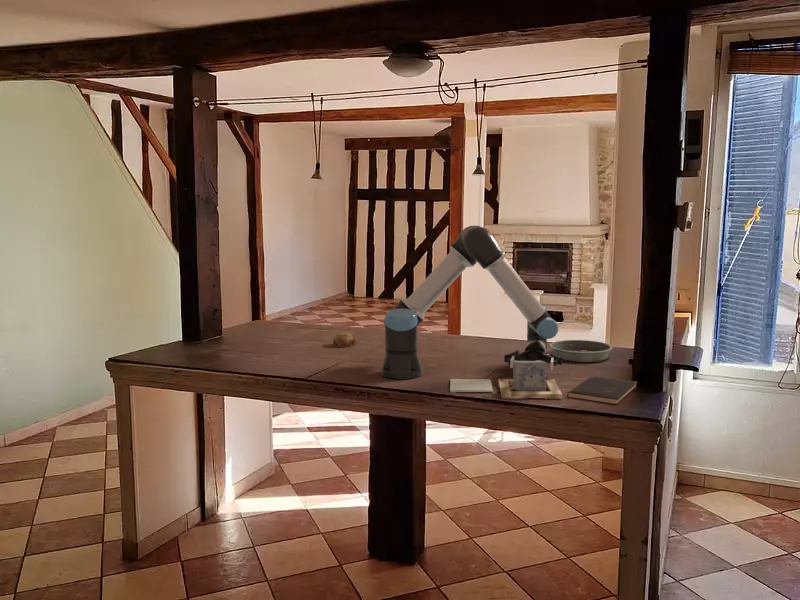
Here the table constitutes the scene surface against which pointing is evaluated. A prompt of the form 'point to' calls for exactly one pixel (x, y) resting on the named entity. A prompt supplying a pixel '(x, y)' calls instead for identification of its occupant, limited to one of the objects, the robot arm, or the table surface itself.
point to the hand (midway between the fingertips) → (531, 365)
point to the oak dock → (550, 383)
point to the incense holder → (529, 375)
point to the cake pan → (598, 349)
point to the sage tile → (471, 385)
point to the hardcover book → (602, 389)
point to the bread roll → (344, 340)
